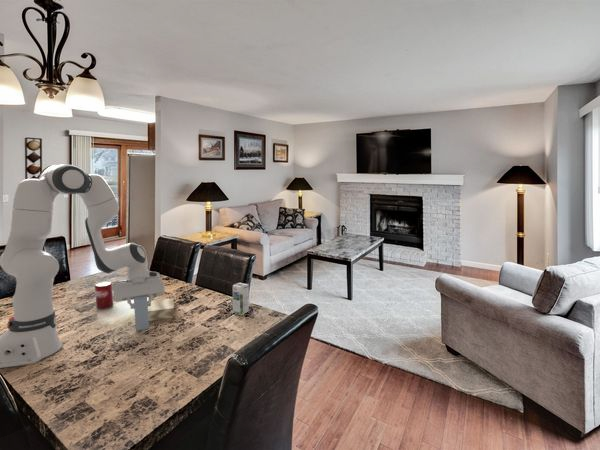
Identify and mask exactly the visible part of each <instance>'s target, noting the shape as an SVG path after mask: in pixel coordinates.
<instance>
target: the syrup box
mask: <svg viewBox="0 0 600 450" xmlns="http://www.w3.org/2000/svg"><path fill="white" fill-rule="evenodd" d="M249 286H250V285H249V283H243V282H237V283H235V284H233V285H232V314H233V313H235V314H238V315H237V316H239V315H243V314H245V313H247V312H248V311H249V312H250V309H249V307H250V306H249V305H250V301H249V300H250V299H249V297H250V296H249V295H250V290H249V288H250V287H249ZM249 312H248V313H249ZM248 313H247V314H248ZM235 314H234V315H235ZM245 315H246V314H245ZM243 316H244V315H243Z"/></svg>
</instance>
